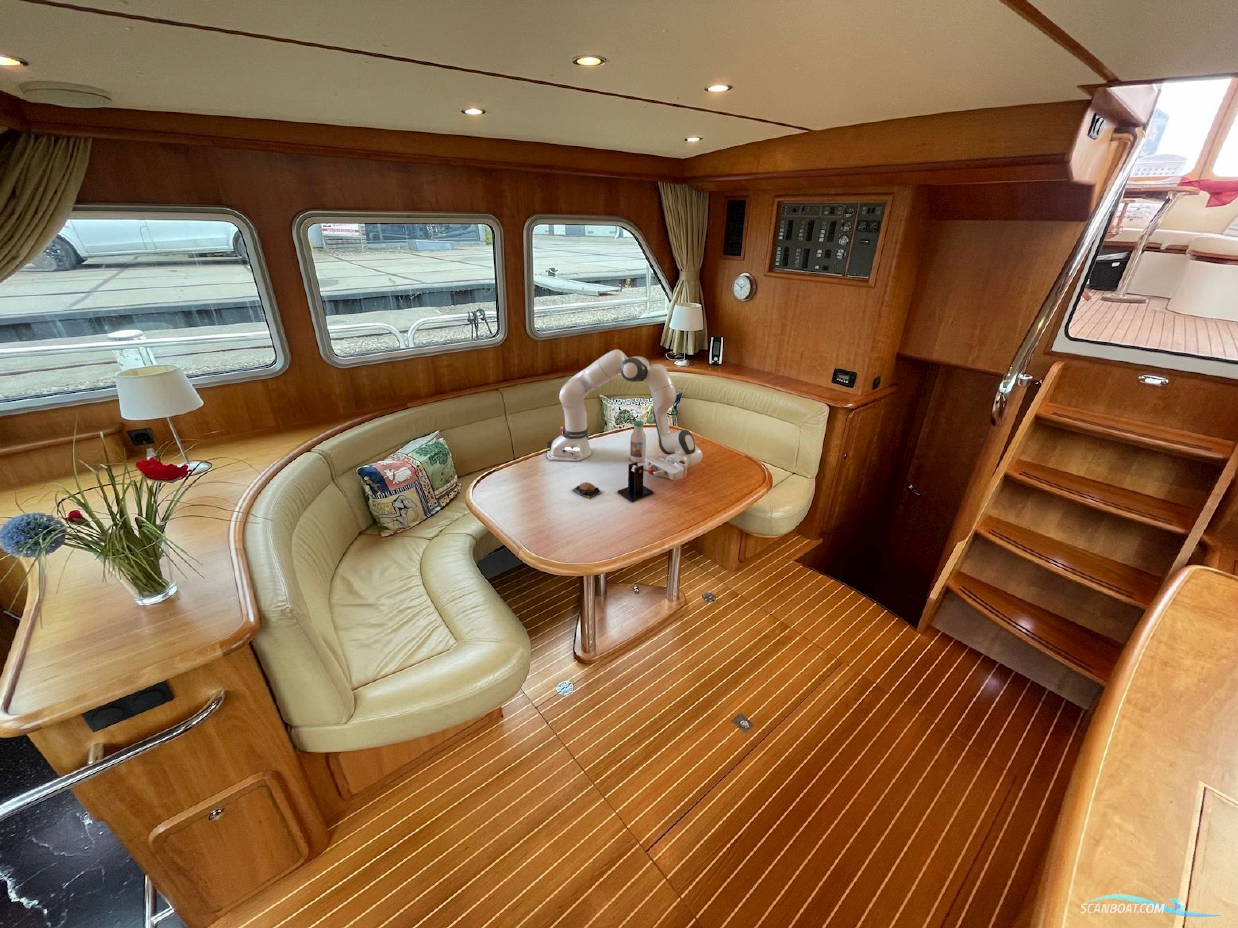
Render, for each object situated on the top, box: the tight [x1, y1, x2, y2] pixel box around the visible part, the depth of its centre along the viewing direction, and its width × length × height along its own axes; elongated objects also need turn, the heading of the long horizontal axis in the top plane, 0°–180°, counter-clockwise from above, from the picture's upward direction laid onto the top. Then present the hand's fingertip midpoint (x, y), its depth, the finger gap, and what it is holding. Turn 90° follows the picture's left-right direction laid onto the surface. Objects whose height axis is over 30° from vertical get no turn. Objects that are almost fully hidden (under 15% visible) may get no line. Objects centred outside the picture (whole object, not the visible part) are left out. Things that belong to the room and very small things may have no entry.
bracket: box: [617, 461, 654, 503], centre depth 206 cm, size 12×10×14 cm
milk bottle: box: [629, 420, 647, 463], centre depth 236 cm, size 8×8×20 cm
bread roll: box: [572, 482, 602, 499], centre depth 210 cm, size 11×8×4 cm
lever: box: [632, 465, 656, 476], centre depth 208 cm, size 13×4×4 cm, turn 129°
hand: (650, 472), depth 210 cm, fingers closed on lever, 3 cm apart
